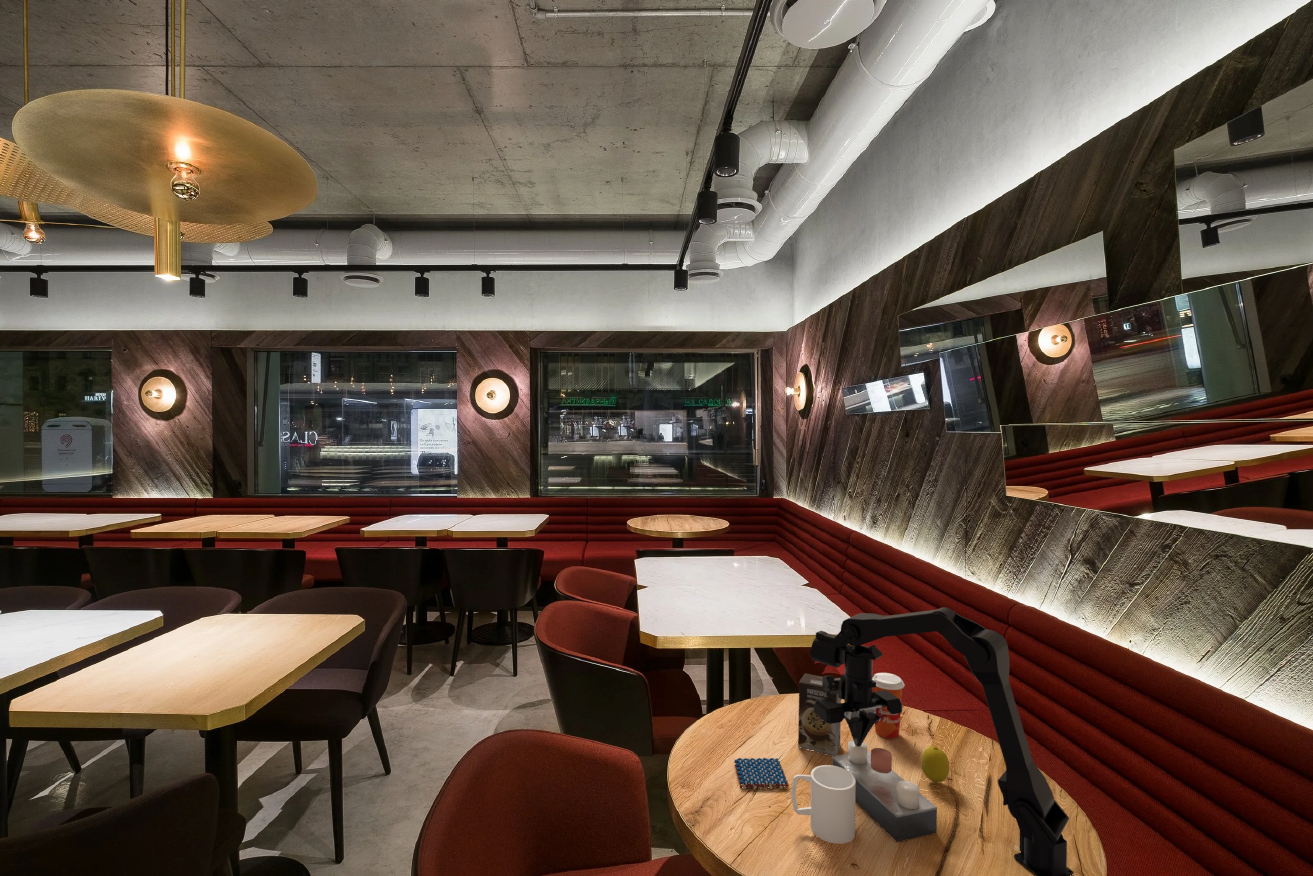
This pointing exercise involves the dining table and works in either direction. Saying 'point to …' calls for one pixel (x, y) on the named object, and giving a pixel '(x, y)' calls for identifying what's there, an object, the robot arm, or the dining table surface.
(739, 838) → the dining table surface
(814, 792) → the cup
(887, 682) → the paper cup
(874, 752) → the knob middle
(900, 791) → the knob near
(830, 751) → the coffee box
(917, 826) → the console
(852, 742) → the knob far
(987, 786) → the dining table surface
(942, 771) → the lemon
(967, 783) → the dining table surface
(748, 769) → the woven mat
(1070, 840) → the dining table surface
